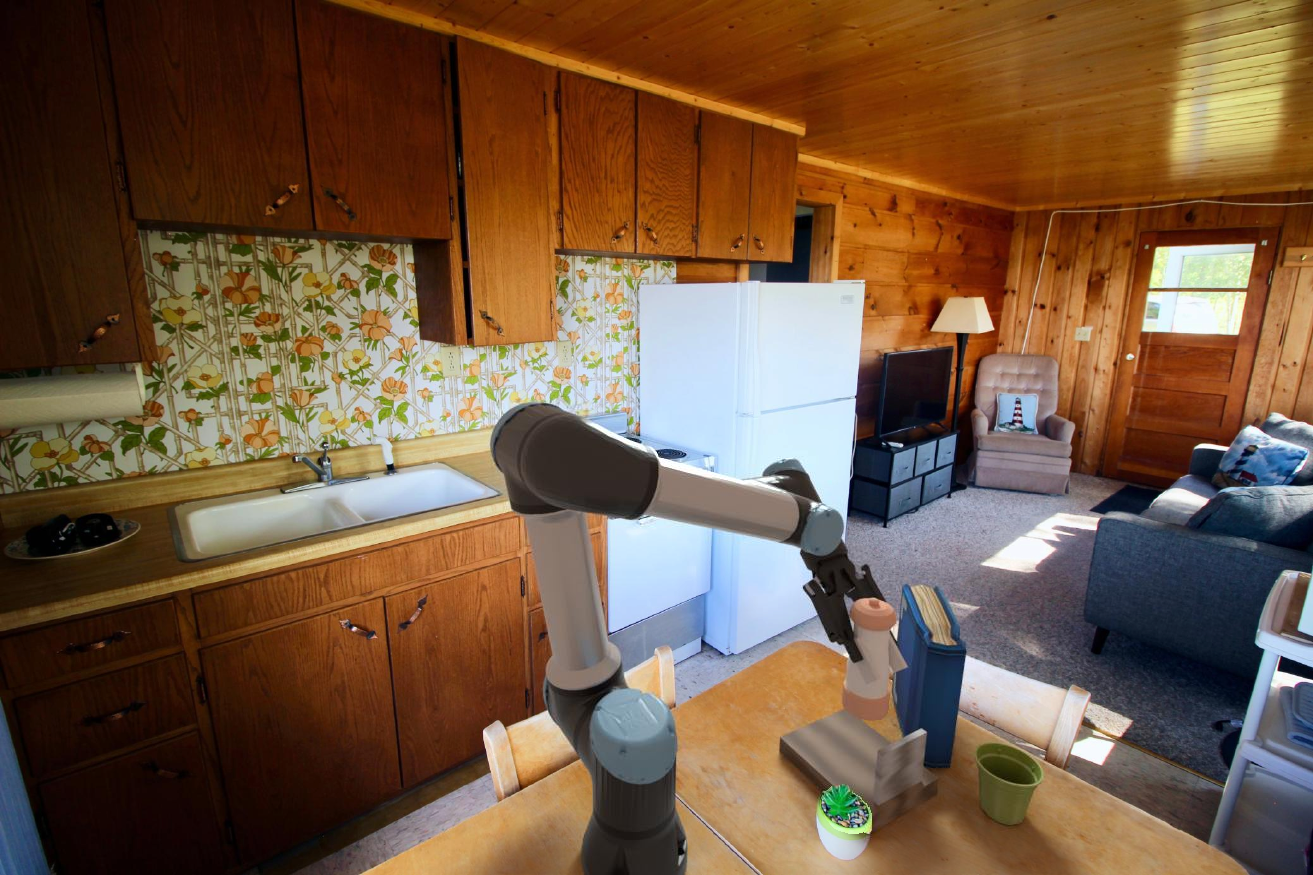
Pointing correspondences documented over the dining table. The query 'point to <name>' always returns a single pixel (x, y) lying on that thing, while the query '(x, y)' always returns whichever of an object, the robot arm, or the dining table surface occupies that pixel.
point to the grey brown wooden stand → (863, 764)
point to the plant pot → (1006, 781)
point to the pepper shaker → (874, 633)
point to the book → (929, 671)
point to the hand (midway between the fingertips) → (887, 675)
